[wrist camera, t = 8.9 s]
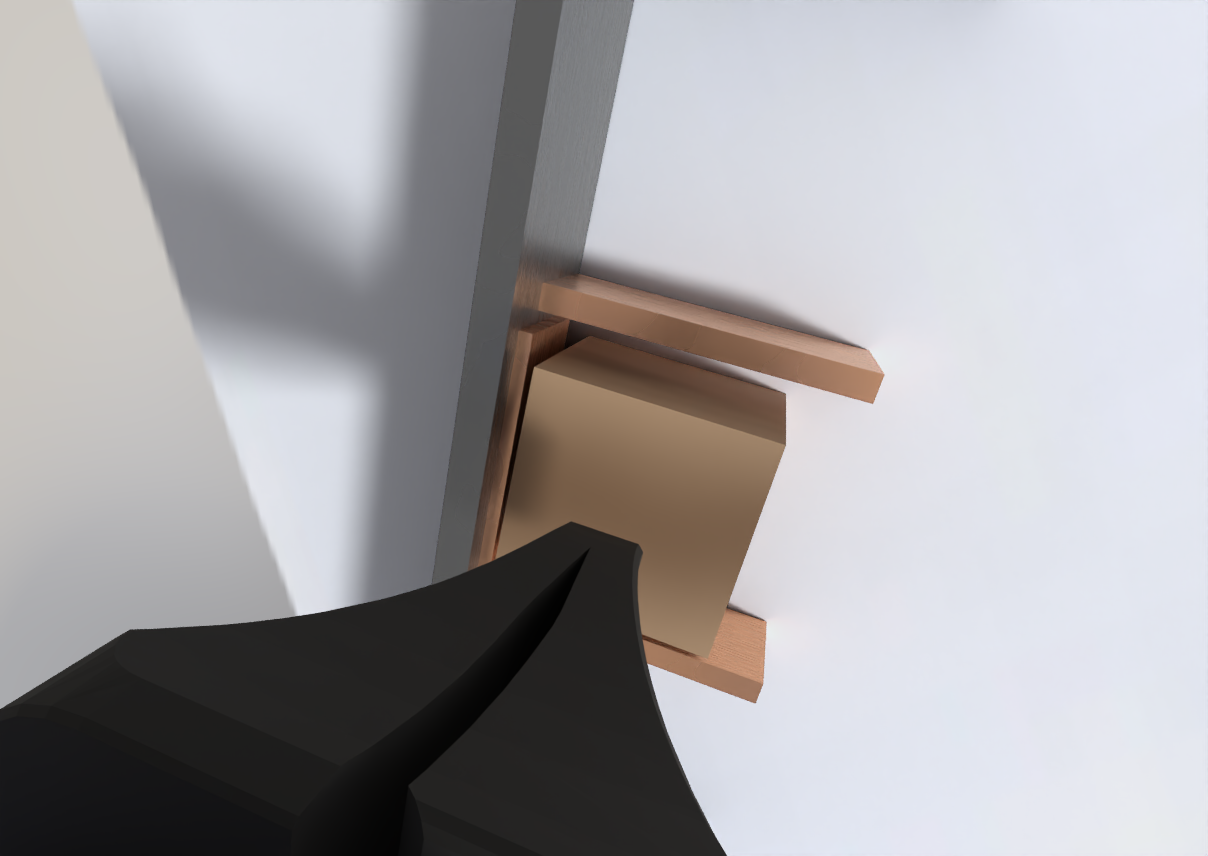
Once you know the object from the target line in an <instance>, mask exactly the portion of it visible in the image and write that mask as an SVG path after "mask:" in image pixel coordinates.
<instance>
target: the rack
mask: <svg viewBox="0 0 1208 856" xmlns="http://www.w3.org/2000/svg"><path fill="white" fill-rule="evenodd" d="M633 3H634V0H516V6H515V13H514V20H513V27H512V34H511V41H510V48H509V55H508V62H507V68H506V75H505V82H504V89H503V96H502V103H501V110H500V117H499V124H498V131H497V137H496V144H495V151H494V158H493V165H492V172H491V179H490V186H489V193H488V200H487V206H486V213H485V220H484V227H483V234H482V241H481V248H480V255H479V262H478V269H477V275H476V282H475V289H474V296H473V303H472V310H471V317H470V324H469V331H468V338H467V344H466V351H465V358H464V365H463V372H462V379H461V386H460V393H459V400H458V407H457V413H456V420H455V427H454V434H453V441H452V448H451V455H450V462H449V469H448V476H447V482H446V489H445V496H444V503H443V510H442V517H441V524H440V531H439V538H438V544H437V551H436V558H435V565H434V572H433V579H432V585H433V584H436V583H439V582H441V581H444V580H447V579H450V578H452V577H455V576H457V575H460V574H462V573H464V572H467V571H469V570H472V569H474V568H476V567H479V566H481V565H484V564H486V563H488V562H491V561H493V560H495V559H496V554H497V549H498V544H499V539H500V534H501V529H502V524H503V519H504V514H505V509H506V504H507V499H508V494H509V489H510V484H511V479H512V474H513V469H514V464H515V459H516V454H517V449H518V444H519V439H520V435H521V430H522V425H523V420H524V415H525V410H526V405H527V400H528V395H529V390H530V385H531V380H532V375H533V370H534V367H535V366H537V365H538V364H540V363H542V362H544V361H546V360H547V359H549V358H551V357H553V356H554V355H556V354H558V353H560V352H562V351H563V350H564V347H565V342H566V337H567V332H568V327H569V322H570V319H571V320H574V321H578V322H581V323H585V324H589V325H592V326H596V327H599V328H603V329H607V330H610V331H614V332H617V333H621V334H624V335H628V336H632V337H635V338H639V339H642V340H646V341H649V342H653V343H657V344H660V345H664V346H667V347H671V348H675V349H678V350H682V351H685V352H689V353H692V354H696V355H700V356H703V357H707V358H710V359H714V360H718V361H721V362H725V363H728V364H732V365H735V366H739V367H743V368H746V369H750V370H753V371H757V372H761V373H764V374H768V375H771V376H775V377H778V378H782V379H786V380H789V381H793V382H796V383H800V384H804V385H807V386H811V387H814V388H818V389H821V390H825V391H829V392H832V393H836V394H839V395H843V396H847V397H850V398H854V399H857V400H861V401H864V402H868V403H872V404H873V403H874V400H875V397H876V395H877V392H878V390H879V387H880V385H881V382H882V380H883V377H884V373H883V371H882V370H881V368H880V367H879V365H878V364H877V362H876V361H875V359H874V357H873V356H872V354H871V353H870V351H869V350H865V349H861V348H858V347H854V346H850V345H846V344H843V343H839V342H835V341H831V340H827V339H824V338H820V337H816V336H812V335H809V334H805V333H801V332H797V331H793V330H790V329H786V328H782V327H778V326H775V325H771V324H767V323H763V322H759V321H756V320H752V319H748V318H744V317H741V316H737V315H733V314H729V313H725V312H722V311H718V310H714V309H710V308H707V307H703V306H699V305H695V304H691V303H688V302H684V301H680V300H676V299H673V298H669V297H665V296H661V295H658V294H654V293H650V292H646V291H642V290H639V289H635V288H631V287H627V286H624V285H620V284H616V283H612V282H608V281H605V280H601V279H597V278H593V277H590V276H586V275H582V274H579V271H580V266H581V261H582V256H583V251H584V246H585V241H586V236H587V231H588V226H589V221H590V216H591V211H592V206H593V201H594V196H595V191H596V186H597V181H598V176H599V171H600V166H601V161H602V156H603V152H604V147H605V142H606V137H607V132H608V127H609V122H610V117H611V112H612V107H613V102H614V97H615V92H616V87H617V82H618V77H619V72H620V67H621V62H622V57H623V52H624V47H625V42H626V37H627V32H628V27H629V22H630V17H631V12H632V8H633ZM766 623H767V622H765V621H762V620H759V619H756V618H754V617H751V616H748V615H745V614H742V613H739V612H736V611H734V610H731V609H728V608H726V610H725V613H724V616H723V619H722V621H721V624H720V627H719V630H718V632H717V635H716V638H715V640H714V643H713V646H712V649H711V651H710V654H709V657H708V659H707V658H704V657H701V656H699V655H696V654H693V653H691V652H688V651H685V650H683V649H680V648H677V647H675V646H672V645H669V644H667V643H664V642H661V641H659V640H656V639H653V638H651V637H648V636H645V635H643V634H642V639H643V644H644V650H645V655H646V660H647V663H648V664H651V665H653V666H656V667H659V668H661V669H664V670H667V671H669V672H672V673H675V674H678V675H680V676H683V677H686V678H688V679H691V680H694V681H696V682H699V683H702V684H704V685H707V686H710V687H712V688H715V689H718V690H720V691H723V692H726V693H728V694H731V695H734V696H736V697H739V698H742V699H745V700H747V701H750V702H753V703H755V704H756V701H757V698H758V696H759V693H760V691H761V688H762V686H763V678H764V660H765V641H766Z"/></svg>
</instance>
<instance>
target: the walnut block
mask: <svg viewBox="0 0 1208 856" xmlns="http://www.w3.org/2000/svg"><path fill="white" fill-rule="evenodd" d="M785 446H786V394H784V393H781V392H778V391H774V390H771V389H767V388H764V387H761V386H757V385H754V384H751V383H747V382H744V381H741V380H737V379H734V378H730V377H727V376H724V375H720V374H717V373H714V372H710V371H707V370H704V369H700V368H697V367H693V366H690V365H687V364H683V363H680V362H677V361H673V360H670V359H667V358H663V357H660V356H656V355H653V354H650V353H646V352H643V351H640V350H636V349H633V348H630V347H626V346H623V345H619V344H616V343H613V342H609V341H606V340H603V339H599V338H596V337H593V336H588V337H587V338H585V339H583V340H581V341H579V342H578V343H576V344H574V345H572V346H570V347H569V348H567V349H565V350H563V351H562V352H560V353H558V354H556V355H554V356H553V357H551V358H549V359H547V360H546V361H544V362H542V363H540V364H538V365H537V366H535V367H534V370H533V375H532V380H531V385H530V390H529V395H528V400H527V405H526V410H525V415H524V420H523V425H522V430H521V435H520V439H519V444H518V449H517V454H516V459H515V464H514V469H513V474H512V479H511V484H510V489H509V494H508V499H507V504H506V509H505V514H504V519H503V524H502V529H501V534H500V539H499V544H498V549H497V554H496V559H497V558H499V557H501V556H503V555H505V554H507V553H510V552H512V551H514V550H516V549H518V548H520V547H522V546H524V545H526V544H528V543H530V542H532V541H533V540H535V539H537V538H539V537H541V536H543V535H545V534H547V533H549V532H551V531H553V530H554V529H556V528H558V527H560V526H563V525H565V524H567V523H569V522H571V521H572V522H575V523H578V524H581V525H584V526H587V527H590V528H593V529H596V530H599V531H602V532H604V533H607V534H610V535H613V536H616V537H619V538H622V539H625V540H628V541H631V542H634V543H637V544H639V545H640V547H641V549H642V551H643V555H642V559H641V562H640V566H639V570H638V604H639V615H640V625H641V632H642V634H643V635H645V636H648V637H651V638H653V639H656V640H659V641H661V642H664V643H667V644H669V645H672V646H675V647H677V648H680V649H683V650H685V651H688V652H691V653H693V654H696V655H699V656H701V657H704V658H707V659H708V657H709V654H710V651H711V649H712V646H713V643H714V640H715V638H716V635H717V632H718V630H719V627H720V624H721V621H722V619H723V616H724V613H725V610H726V608H727V605H728V602H729V599H730V597H731V594H732V591H733V588H734V586H735V583H736V580H737V577H738V575H739V572H740V569H741V567H742V564H743V561H744V558H745V556H746V553H747V550H748V547H749V545H750V542H751V539H752V536H753V534H754V531H755V528H756V525H757V523H758V520H759V517H760V514H761V512H762V509H763V506H764V504H765V501H766V498H767V495H768V493H769V490H770V487H771V484H772V482H773V479H774V476H775V473H776V471H777V468H778V465H779V462H780V460H781V457H782V454H783V451H784V449H785Z"/></svg>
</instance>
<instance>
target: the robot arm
mask: <svg viewBox="0 0 1208 856" xmlns="http://www.w3.org/2000/svg"><path fill="white" fill-rule="evenodd" d="M642 555H643V551H642V549H641V547H640V545H639V544H637V543H634V542H631V541H628V540H625V539H622V538H619V537H616V536H613V535H610V534H607V533H604V532H602V531H599V530H596V529H593V528H590V527H587V526H584V525H581V524H578V523H575V522H572V521H571V522H569V523H567V524H565V525H563V526H560V527H558V528H556V529H554V530H553V531H551V532H549V533H547V534H545V535H543V536H541V537H539V538H537V539H535V540H533V541H532V542H530V543H528V544H526V545H524V546H522V547H520V548H518V549H516V550H514V551H512V552H510V553H507V554H505V555H503V556H501V557H499V558H497V559H495V560H493V561H491V562H488V563H486V564H484V565H481V566H479V567H476V568H474V569H472V570H469V571H467V572H464V573H462V574H460V575H457V576H455V577H452V578H450V579H447V580H444V581H441V582H439V583H436V584H433V585H430V586H427V587H424V588H420V589H417V590H413V591H410V592H407V593H403V594H400V595H397V596H393V597H389V598H385V599H381V600H377V601H372V602H368V603H363V604H358V605H354V606H349V607H345V608H340V609H335V610H331V611H326V612H321V613H315V614H308V615H302V616H295V617H289V618H282V619H274V620H265V621H257V622H249V623H238V624H228V625H213V626H196V627H178V628H161V629H137V630H136V629H135V630H129V631H127V632H125V633H123V634H122V635H120V636H118V637H117V638H115V639H113V640H112V641H110V642H109V643H107V644H105V645H104V646H102V647H100V648H99V649H97V650H95V651H94V652H92V653H91V654H89V655H88V656H86V657H84V658H83V659H81V660H79V661H78V662H76V663H75V664H73V665H71V666H70V667H68V668H66V669H65V670H63V671H62V672H60V673H58V674H57V675H55V676H53V677H52V678H50V679H48V680H47V681H45V682H44V683H42V684H41V685H39V686H37V687H36V688H34V689H32V690H31V691H29V692H27V693H26V694H24V695H23V696H21V697H19V698H18V699H16V700H15V701H13V702H11V703H10V704H8V705H6V706H5V707H3V708H2V709H0V856H727V855H726V853H725V852H724V850H723V848H722V847H721V845H720V843H719V842H718V840H717V838H716V836H715V835H714V833H713V831H712V829H711V827H710V825H709V823H708V821H707V819H706V817H705V815H704V813H703V811H702V809H701V807H700V805H699V803H698V802H697V800H696V798H695V796H694V794H693V792H692V790H691V787H690V785H689V782H688V780H687V778H686V775H685V773H684V771H683V768H682V766H681V764H680V761H679V759H678V756H677V754H676V752H675V749H674V747H673V745H672V742H671V740H670V738H669V735H668V732H667V729H666V727H665V724H664V721H663V718H662V715H661V712H660V709H659V706H658V702H657V699H656V695H655V692H654V689H653V685H652V681H651V677H650V673H649V669H648V665H647V660H646V655H645V650H644V644H643V639H642V632H641V625H640V615H639V604H638V570H639V566H640V562H641V559H642Z"/></svg>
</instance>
